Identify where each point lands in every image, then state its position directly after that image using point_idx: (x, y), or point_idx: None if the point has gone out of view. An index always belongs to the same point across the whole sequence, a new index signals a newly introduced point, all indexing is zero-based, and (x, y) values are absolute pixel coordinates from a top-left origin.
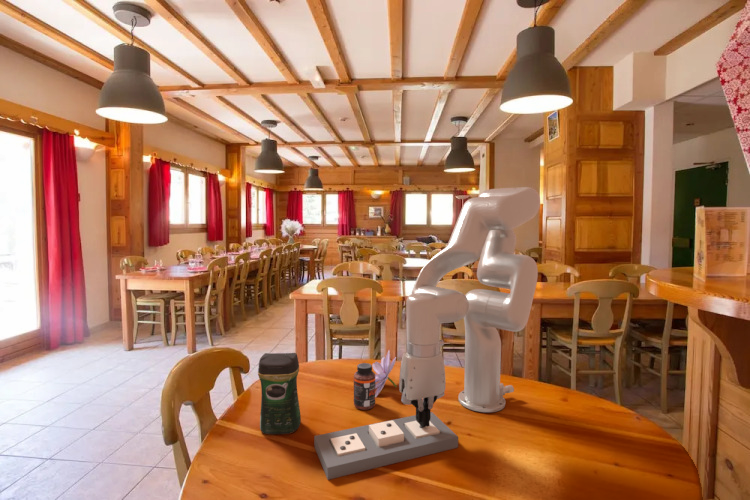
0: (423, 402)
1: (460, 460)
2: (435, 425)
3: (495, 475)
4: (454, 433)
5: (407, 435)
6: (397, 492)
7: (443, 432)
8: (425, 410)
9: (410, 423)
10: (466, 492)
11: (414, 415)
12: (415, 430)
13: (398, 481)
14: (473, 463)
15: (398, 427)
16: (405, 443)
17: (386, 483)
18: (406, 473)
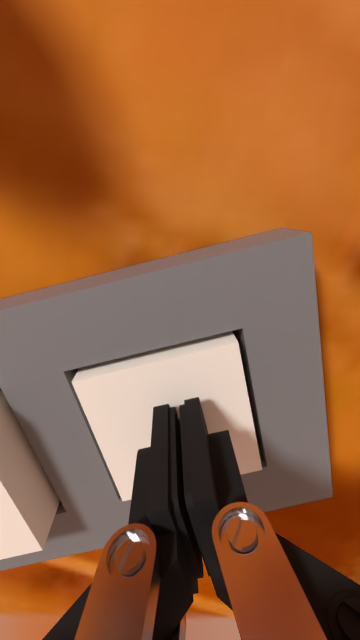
0: (215, 563)
1: (278, 515)
2: (264, 403)
3: (347, 572)
4: (329, 475)
5: (81, 472)
6: (37, 612)
7: (279, 462)
8: (206, 566)
9: (110, 391)
10: (231, 615)
11: (163, 269)
12: (129, 458)
13: (42, 582)
14: (314, 529)
15: (9, 504)
16: (63, 524)
17: (3, 587)
18: (72, 557)
